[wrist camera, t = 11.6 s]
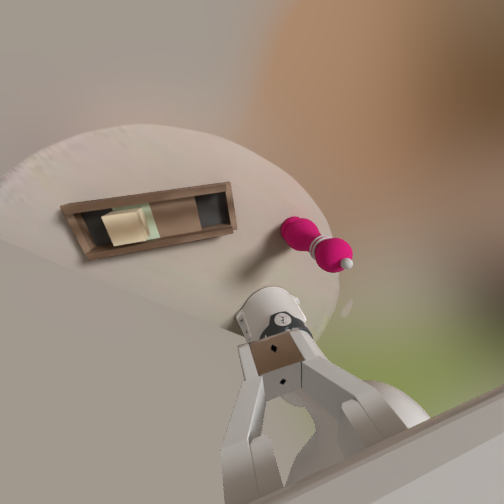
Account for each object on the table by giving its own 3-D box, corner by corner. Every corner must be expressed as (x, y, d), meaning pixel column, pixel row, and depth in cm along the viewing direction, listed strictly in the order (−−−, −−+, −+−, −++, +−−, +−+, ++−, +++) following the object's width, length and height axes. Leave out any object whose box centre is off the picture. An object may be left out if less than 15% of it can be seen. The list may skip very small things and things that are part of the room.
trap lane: (235, 226, 43) (239, 232, 39) (92, 252, 38) (80, 262, 34) (228, 181, 39) (232, 183, 35) (68, 203, 34) (51, 208, 30)
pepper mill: (309, 216, 47) (377, 245, 29) (301, 243, 50) (360, 286, 32) (282, 212, 45) (338, 242, 27) (275, 241, 47) (323, 286, 30)
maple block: (150, 233, 37) (145, 240, 33) (122, 238, 36) (113, 246, 32) (141, 207, 35) (135, 211, 31) (111, 211, 34) (101, 216, 30)
